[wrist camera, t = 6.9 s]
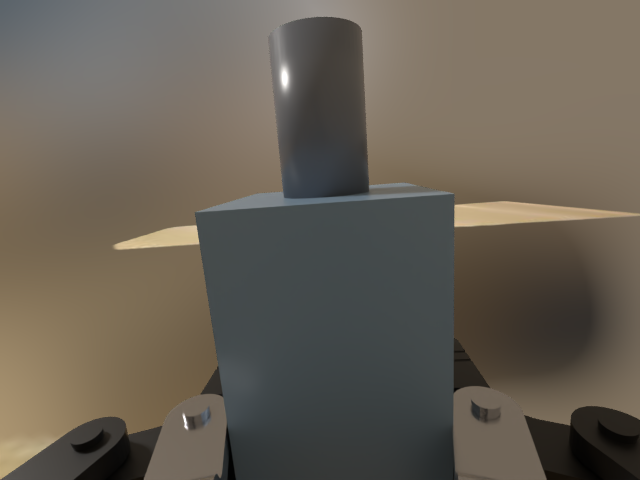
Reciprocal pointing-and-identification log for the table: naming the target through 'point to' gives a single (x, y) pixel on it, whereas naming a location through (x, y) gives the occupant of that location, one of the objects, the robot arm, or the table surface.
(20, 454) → the table surface
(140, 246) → the table surface
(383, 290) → the plug
